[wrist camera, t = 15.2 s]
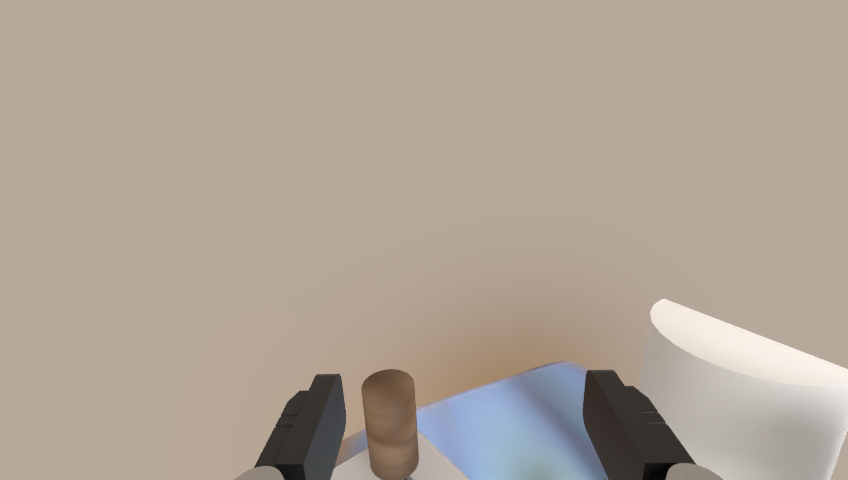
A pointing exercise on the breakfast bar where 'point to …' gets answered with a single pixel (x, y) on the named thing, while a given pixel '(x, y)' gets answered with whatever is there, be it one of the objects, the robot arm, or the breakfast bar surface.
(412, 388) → the plunger
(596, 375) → the robot arm
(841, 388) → the white stepped oval block
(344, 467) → the grey upright block
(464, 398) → the breakfast bar surface
